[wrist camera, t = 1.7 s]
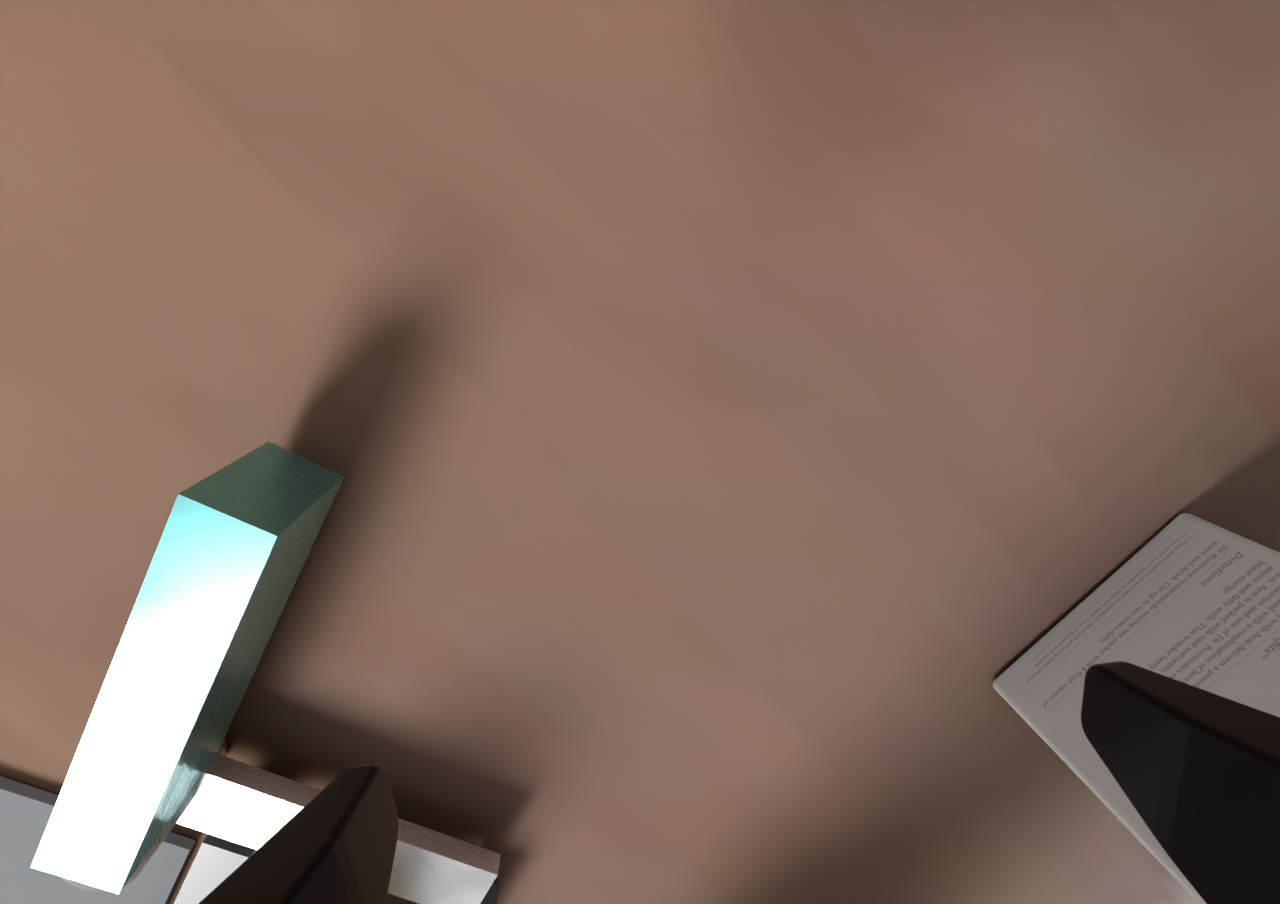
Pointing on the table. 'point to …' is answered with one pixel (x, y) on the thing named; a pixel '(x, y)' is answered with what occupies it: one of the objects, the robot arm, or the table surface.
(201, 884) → the socket block
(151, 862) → the mat
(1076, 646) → the supplement box
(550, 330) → the table surface
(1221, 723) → the robot arm
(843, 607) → the table surface
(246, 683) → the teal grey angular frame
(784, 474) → the table surface
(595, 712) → the table surface
